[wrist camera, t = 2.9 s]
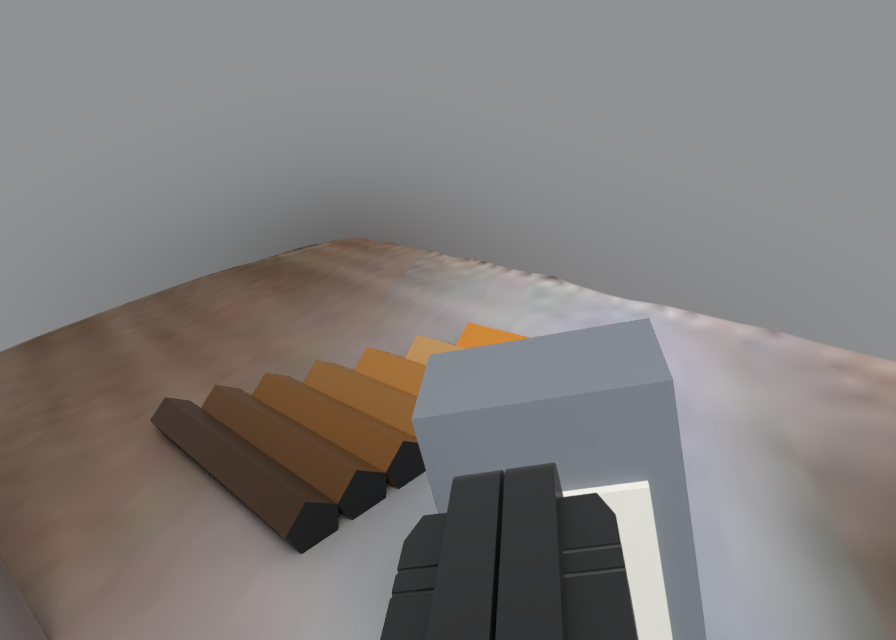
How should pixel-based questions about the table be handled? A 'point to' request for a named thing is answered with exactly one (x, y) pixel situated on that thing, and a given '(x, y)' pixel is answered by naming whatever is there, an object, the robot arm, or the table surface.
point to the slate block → (578, 445)
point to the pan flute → (315, 436)
